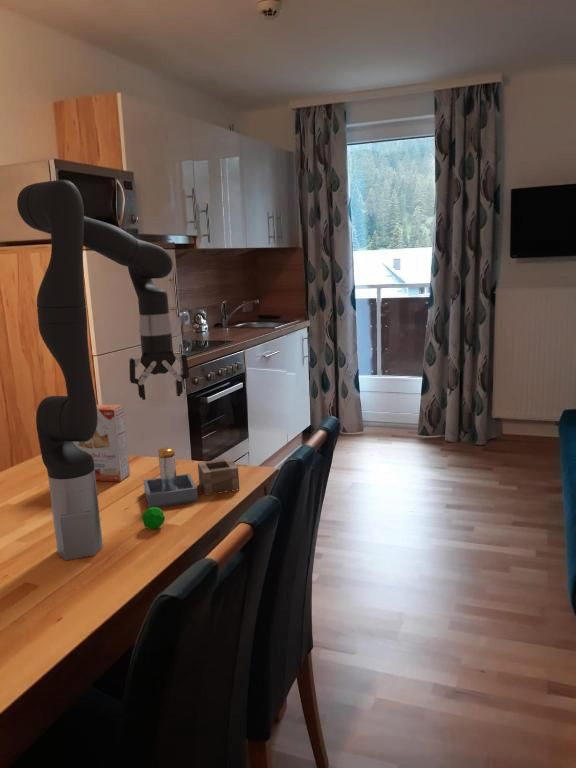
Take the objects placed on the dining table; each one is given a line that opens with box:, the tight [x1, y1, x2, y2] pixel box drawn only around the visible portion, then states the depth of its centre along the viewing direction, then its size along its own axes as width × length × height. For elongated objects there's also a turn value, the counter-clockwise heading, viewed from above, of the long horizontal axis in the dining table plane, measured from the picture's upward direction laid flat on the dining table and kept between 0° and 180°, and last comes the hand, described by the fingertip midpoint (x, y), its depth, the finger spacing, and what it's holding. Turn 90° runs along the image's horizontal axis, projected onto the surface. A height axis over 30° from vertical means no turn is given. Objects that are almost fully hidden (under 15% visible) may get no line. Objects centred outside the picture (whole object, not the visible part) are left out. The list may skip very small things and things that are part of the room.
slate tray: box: [143, 473, 199, 509], centre depth 164 cm, size 12×12×4 cm
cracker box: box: [73, 403, 131, 483], centre depth 179 cm, size 14×6×21 cm, turn 76°
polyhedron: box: [141, 507, 165, 531], centre depth 145 cm, size 5×5×5 cm
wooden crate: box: [197, 457, 240, 496], centre depth 169 cm, size 9×9×6 cm
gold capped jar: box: [157, 446, 178, 492], centre depth 163 cm, size 4×4×12 cm
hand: (161, 397), depth 159 cm, fingers open, 8 cm apart
